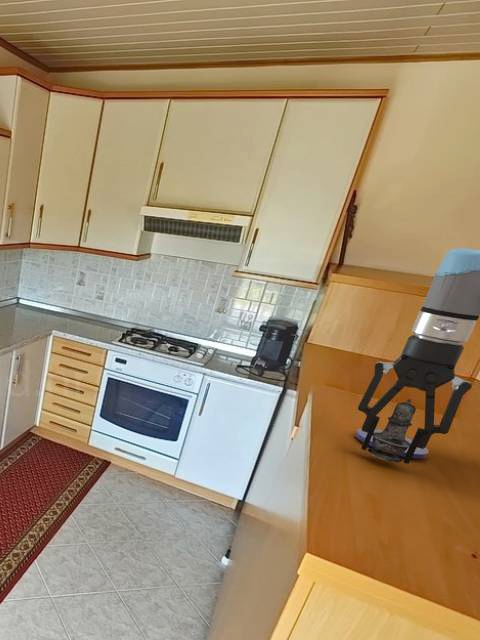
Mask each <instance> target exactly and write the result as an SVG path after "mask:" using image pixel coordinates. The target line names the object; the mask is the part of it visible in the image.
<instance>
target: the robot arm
mask: <svg viewBox="0 0 480 640" xmlns="http://www.w3.org/2000/svg"><path fill="white" fill-rule="evenodd" d="M442 259H443V260H442V261H441V264H440V265H439V267H438V269H437V271H436V272H435V273H434V277H433V279H432V282H431V284H430V287H429V290H428V291H427V294H426V297H425V299H424V301H423V304H422V306H421V308H420V310H419V312H418V314H417V317H416V319H415V322H414V324H413V326H412V329H411V332H412V334H411V335H410V336H408V338H407V340H406V342H405V344H404V347H403V350H402V351H401V354H400V356H399V357H398V358H397V359H395V360H394V361H382V360H377V361H376V362H375V364H374V375H372V378H371V380H370V382H369V384H368V385H367V388H366V390H365V392H364V394H363V396H362V398H361V400H360V402H359V404H358V407H357V410H358V411H359V412H362V413H363V414H365V419H364V422H363V424H362V426H361V428H362V431H364V432H367V435H366V438H365V440H364V442H362V445H361V447H360V450H363V451H367V450H368V446H369V445H368V444H369V442H370V440H371V437H372V435H373V433H374V431H375V429H377V426H378V424H379V421H380V418H381V417H380V416H377V415H378V414H380V412H382V410H383V409H384V408H385V407H386V406H388V404H389V403H390V402H391V401H393V399H394V398H395V397H397V395H398V394H399V393H400V392H401V391H402V390H403V389H404V388H405V387H406V388H410V389H411V388H413V389H417V390H418V391H419V390H420V391H422V392H425V398H424V400H425V401H424V427H423V428H421V427H418V428H417V430H416V431H415V433H414V436H413V438H412V439H411V440H412V442H411V446H410V447H409V449H408V451H407V453H406V455H405V457H403V463H404V464H407V465H409V464H410V462H411V460H412V459H413V458H412V456H413V454H414V452H415V450H416V448H417V447H418V448H421V449H424V448H427V446H428V443H429V441H430V440H431V438H432V435H434V434H442V435H446V434H449V431H450V430H451V426H452V424H453V423H454V419H455V416H456V415H457V411H458V409H459V406H460V404H461V402H462V399H463V398H464V397H463V396H464V395H466V394H467V392H469V390H470V389H472V388H473V385H472V383H471V381H470V380H468V379H463V378H461V377H458V376H456V372H455V369H456V367H457V364H458V362H459V360H460V358H461V356H462V353H463V351H464V349H465V347H464V345H463V343H468V342H469V341H468V340H469V339H470V337H471V335H472V333H473V330H474V328H475V326H476V323H477V322H478V320H479V318H480V249H473V248H472V249H471V248H462V247H461V248H460V247H459V248H453V249H450V250H449V251H448V252H446V254H445V255H444V258H442ZM392 369H393V370H394V372H395V375H396V377H397V380H396V381H395V382H394V383H393V385H392V386H390V388H389V389H387V391H385V393H383V395H382V396H381V397H380V398H379V399H378V400H377V402H375V403H374V405H372V407H371V406H369V404H370V402H371V400H372V398H373V396H374V394H375V392H376V390H377V388H378V386H379V384H380V382H381V380H382V378H383V375H385V374H388V373H389V372H390V370H392ZM450 382H451V383H452V384H451V390H452V392H451V395H450V398H449V399H448V402H447V405H446V406H445V407H446V408H445V410H444V413H443V415H442V418H441V420H440V422H439V424H435V408H436V407H435V405H436V404H435V403H436V390H437V388H439V387H441V386H443V385H444V386H445V384H448V383H450Z"/></svg>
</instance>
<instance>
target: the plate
mask: <svg viewBox="0 0 480 640" xmlns="http://www.w3.org/2000/svg"><path fill="white" fill-rule="evenodd" d="M382 431H383V429H382V430H381V429H377V428H375V431H374V433H375V432H379V433H380V432H382ZM366 435H367V432H364V431H362V427H361V428H358V429H357V430H356V432H355V437H356V439H358V440H359V441H360V442H362V443H363V442H364V440H365V438H366ZM405 440H406V441H408V442H409V443H410V444H411V442H412V440H413V439H411V438H408V437H406V436H405ZM368 446H370V447H372V448H376V447H375V446H374V444H373V435H372V437H371V440H370V442H369V444H368ZM408 449H409V447H408V448H407V450H406V451H404V452H403V453H400V454H396V455H397V456H399V457H403V458H404V457H405V455H406V453H407V451H408ZM429 452H430V451H429V450H428V448H427V447H425V448H424V449H421V448H418V447H417V448H416V450H415V452H414V454H413V456H412V458H411V459H419V460H420V459H425V458H427V456H428V454H429Z"/></svg>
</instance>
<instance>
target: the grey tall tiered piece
mask: <svg viewBox="0 0 480 640" xmlns="http://www.w3.org/2000/svg"><path fill="white" fill-rule="evenodd" d="M411 399H412V398H408V399H406V401H404V402H403V401H402V402H398V403H397V404H396V405H395V407H394V409H393V412H392V413H391V416H388V417H387V420H388V421H387V424H386V426H385V428H384V429H382V432H380V433H379V432H375V433H373V444H374V446H375V447H376V448H374V447H372V448H367V449H366V451H367V453H368V454H370V455H371V456H373V457H375V458H376V459H377V458H378V459H380V460H381V461H382V460H383V461H386V462H390V463H397V464H398V463H399V464H400V463H401V462H402V458H401V457H400V456H399V455H396V454H400V453H403V452H404V451H406V450H407V448H408V447H410V446H411V444H410V443H409V442H408V441H406V440H405V437H406V434H407V433H408V432H407V431H408V429H409V427H411V426H413V423H411V422H412V419H413V418H414V415H415V413H416V411H417V408H416V406H415V405H414V404H412V403H411V402H412V400H411Z"/></svg>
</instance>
